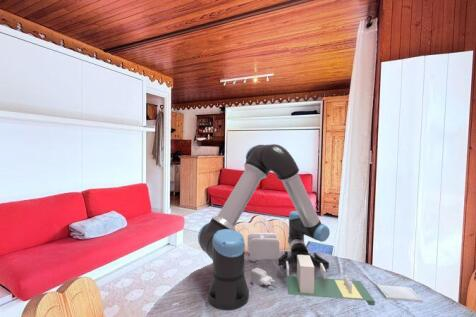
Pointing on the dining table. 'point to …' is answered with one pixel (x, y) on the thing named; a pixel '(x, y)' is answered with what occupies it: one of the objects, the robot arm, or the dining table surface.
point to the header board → (332, 289)
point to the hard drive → (398, 293)
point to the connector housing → (305, 274)
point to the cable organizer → (263, 246)
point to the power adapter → (261, 277)
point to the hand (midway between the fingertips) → (306, 273)
